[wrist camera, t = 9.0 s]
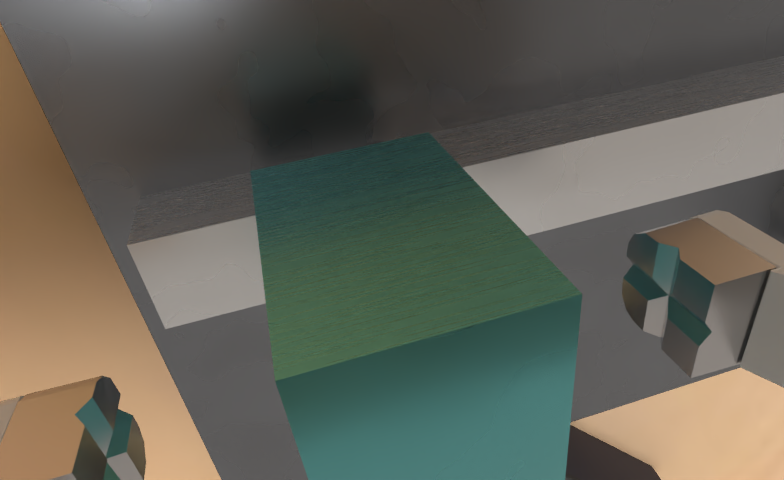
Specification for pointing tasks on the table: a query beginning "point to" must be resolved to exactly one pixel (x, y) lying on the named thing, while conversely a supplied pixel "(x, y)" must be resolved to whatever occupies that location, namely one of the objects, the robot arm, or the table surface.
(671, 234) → the robot arm
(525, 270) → the slider
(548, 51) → the hole plate
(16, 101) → the table surface
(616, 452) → the calculator
